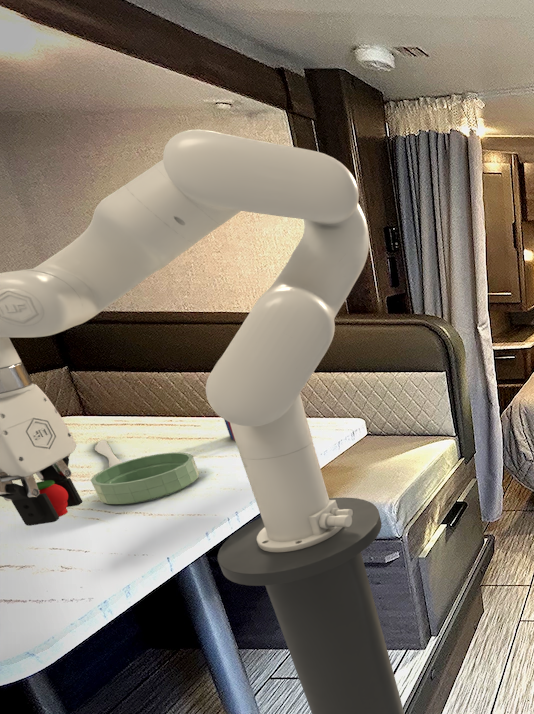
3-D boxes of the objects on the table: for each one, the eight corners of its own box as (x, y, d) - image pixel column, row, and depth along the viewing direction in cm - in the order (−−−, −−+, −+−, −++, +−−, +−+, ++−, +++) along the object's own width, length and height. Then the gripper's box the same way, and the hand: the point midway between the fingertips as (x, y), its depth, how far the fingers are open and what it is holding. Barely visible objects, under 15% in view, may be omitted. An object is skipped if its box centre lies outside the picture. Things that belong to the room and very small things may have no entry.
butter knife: (105, 471, 103) (125, 466, 105) (91, 442, 119) (108, 438, 121) (107, 474, 103) (126, 468, 105) (92, 444, 119) (109, 440, 121)
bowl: (218, 472, 103) (210, 452, 101) (153, 507, 90) (143, 485, 88) (152, 472, 104) (144, 452, 102) (78, 507, 91) (67, 484, 89)
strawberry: (84, 507, 69) (68, 477, 67) (53, 522, 66) (36, 491, 64) (58, 507, 69) (42, 478, 68) (26, 522, 66) (8, 492, 64)
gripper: (-39, 400, 54) (45, 542, 61) (70, 364, 69) (127, 482, 76) (-133, 409, 52) (-36, 555, 59) (-1, 370, 67) (65, 491, 74)
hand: (55, 513), depth 67 cm, fingers closed on strawberry, 3 cm apart
